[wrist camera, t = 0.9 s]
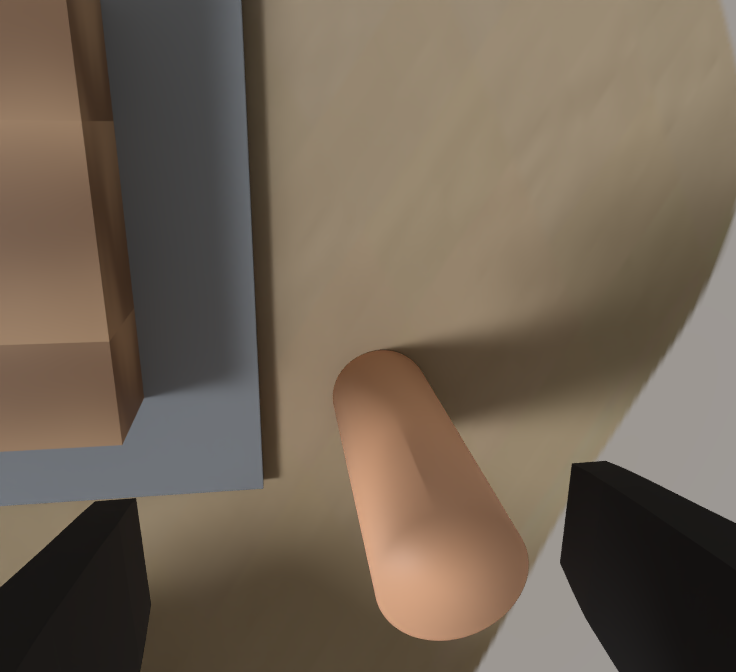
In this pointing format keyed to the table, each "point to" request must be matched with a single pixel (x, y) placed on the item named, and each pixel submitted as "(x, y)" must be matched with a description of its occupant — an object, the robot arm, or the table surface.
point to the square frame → (62, 236)
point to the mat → (175, 264)
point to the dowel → (423, 505)
